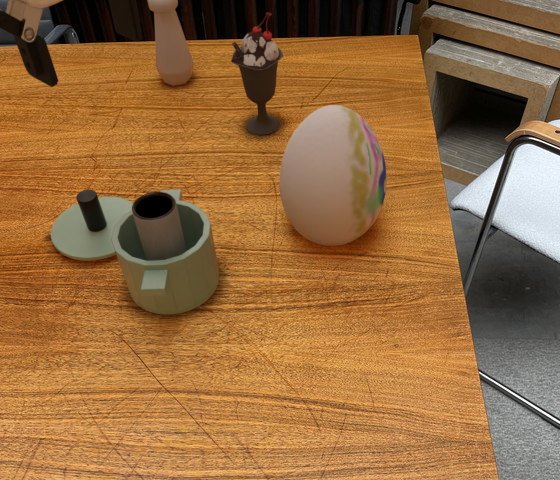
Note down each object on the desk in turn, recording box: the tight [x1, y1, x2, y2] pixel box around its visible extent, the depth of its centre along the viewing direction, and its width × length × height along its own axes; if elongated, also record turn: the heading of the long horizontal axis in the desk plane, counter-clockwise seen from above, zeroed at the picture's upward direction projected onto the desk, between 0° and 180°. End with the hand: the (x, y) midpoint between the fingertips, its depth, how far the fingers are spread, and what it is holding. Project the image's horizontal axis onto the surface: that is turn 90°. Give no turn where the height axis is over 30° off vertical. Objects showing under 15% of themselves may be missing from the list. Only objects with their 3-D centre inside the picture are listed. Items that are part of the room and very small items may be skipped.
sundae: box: [230, 12, 284, 136], centre depth 85 cm, size 7×7×15 cm
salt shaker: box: [146, 0, 195, 87], centre depth 95 cm, size 6×6×13 cm
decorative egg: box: [278, 104, 388, 247], centre depth 72 cm, size 12×12×15 cm
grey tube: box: [132, 191, 187, 261], centre depth 69 cm, size 4×4×10 cm
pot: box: [111, 188, 220, 316], centre depth 70 cm, size 10×16×8 cm, turn 179°
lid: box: [50, 188, 134, 262], centre depth 77 cm, size 11×11×6 cm
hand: (89, 57), depth 57 cm, fingers open, 9 cm apart
